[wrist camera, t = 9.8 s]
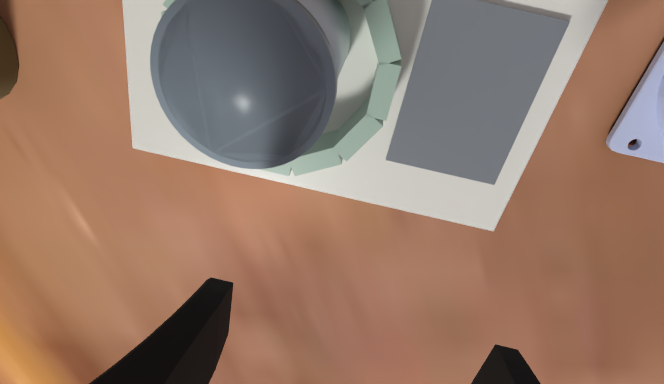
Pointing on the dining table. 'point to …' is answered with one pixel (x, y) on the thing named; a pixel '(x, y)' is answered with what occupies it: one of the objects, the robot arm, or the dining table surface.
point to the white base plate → (412, 101)
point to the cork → (7, 61)
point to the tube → (250, 75)
